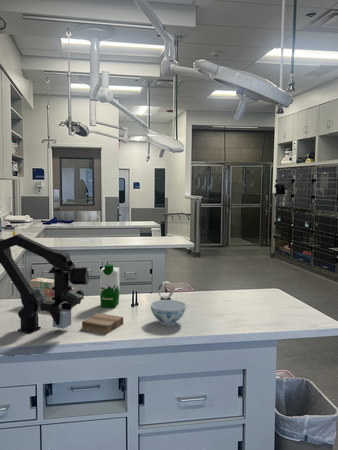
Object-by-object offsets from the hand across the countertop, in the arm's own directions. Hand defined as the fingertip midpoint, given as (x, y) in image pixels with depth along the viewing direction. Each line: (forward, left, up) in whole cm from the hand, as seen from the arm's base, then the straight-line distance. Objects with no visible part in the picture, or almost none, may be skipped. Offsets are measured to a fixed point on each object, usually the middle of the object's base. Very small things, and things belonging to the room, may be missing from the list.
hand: (62, 322), depth 159 cm
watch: (+51, -22, -3) cm, 56 cm away
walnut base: (+11, -12, -3) cm, 17 cm away
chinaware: (+27, -34, -3) cm, 43 cm away
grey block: (0, 0, -1) cm, 1 cm away
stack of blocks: (+25, +25, -4) cm, 35 cm away
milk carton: (+37, +1, -3) cm, 37 cm away
